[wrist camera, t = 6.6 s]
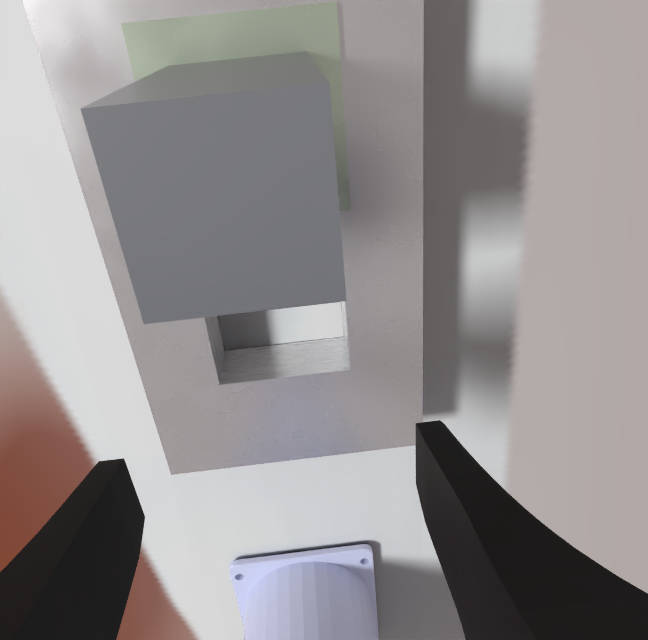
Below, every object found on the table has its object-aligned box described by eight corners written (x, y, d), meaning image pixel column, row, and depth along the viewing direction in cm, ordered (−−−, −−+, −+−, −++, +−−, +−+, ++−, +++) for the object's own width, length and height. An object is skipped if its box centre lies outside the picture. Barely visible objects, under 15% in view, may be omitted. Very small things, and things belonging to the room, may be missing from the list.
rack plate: (410, 408, 26) (423, 447, 24) (180, 435, 26) (170, 478, 23) (404, -123, 16) (426, -146, 14) (29, -87, 16) (-14, -104, 13)
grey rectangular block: (318, 187, 18) (346, 301, 11) (195, 201, 18) (143, 324, 11) (305, 51, 16) (329, 82, 9) (167, 65, 16) (79, 108, 9)
